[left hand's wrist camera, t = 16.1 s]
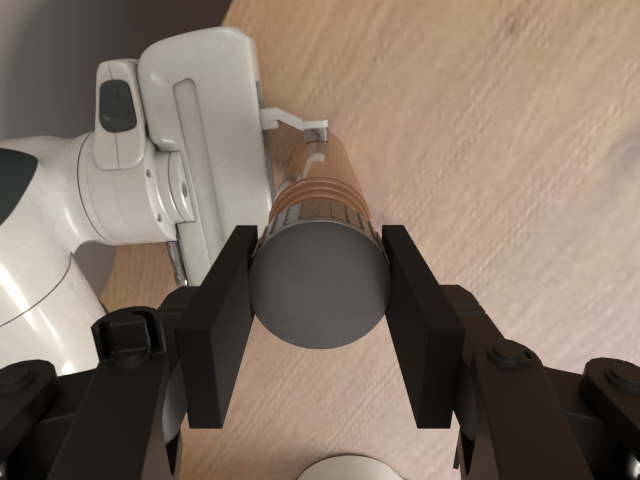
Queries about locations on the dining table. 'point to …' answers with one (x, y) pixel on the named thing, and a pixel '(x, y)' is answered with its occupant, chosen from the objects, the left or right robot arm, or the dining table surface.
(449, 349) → the left robot arm
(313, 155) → the bottle
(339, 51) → the dining table surface
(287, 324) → the cap
